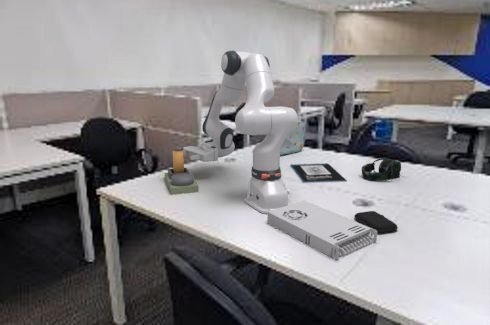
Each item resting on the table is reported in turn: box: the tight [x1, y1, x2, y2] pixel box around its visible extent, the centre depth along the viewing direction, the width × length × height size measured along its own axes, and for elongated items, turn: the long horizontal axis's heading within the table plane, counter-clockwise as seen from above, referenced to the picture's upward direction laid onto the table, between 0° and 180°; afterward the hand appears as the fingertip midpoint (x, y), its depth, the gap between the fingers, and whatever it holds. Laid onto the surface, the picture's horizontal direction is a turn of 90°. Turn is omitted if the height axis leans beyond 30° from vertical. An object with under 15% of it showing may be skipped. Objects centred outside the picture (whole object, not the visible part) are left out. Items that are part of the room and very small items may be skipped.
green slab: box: [164, 167, 199, 196], centre depth 177 cm, size 24×12×6 cm, turn 18°
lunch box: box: [280, 119, 307, 156], centre depth 236 cm, size 27×10×21 cm, turn 130°
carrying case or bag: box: [353, 210, 398, 235], centre depth 136 cm, size 11×3×15 cm
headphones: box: [361, 157, 402, 182], centre depth 189 cm, size 13×13×20 cm
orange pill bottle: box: [171, 145, 185, 173], centre depth 180 cm, size 5×5×14 cm
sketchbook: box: [290, 162, 348, 184], centre depth 197 cm, size 22×30×2 cm
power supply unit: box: [266, 200, 378, 261], centre depth 130 cm, size 19×33×5 cm, turn 36°
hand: (184, 156), depth 182 cm, fingers open, 8 cm apart
